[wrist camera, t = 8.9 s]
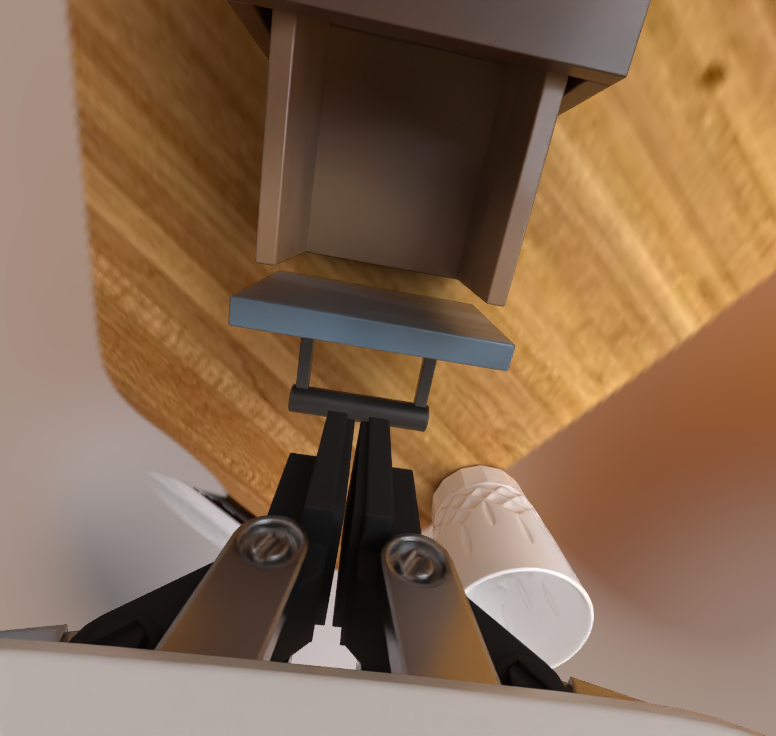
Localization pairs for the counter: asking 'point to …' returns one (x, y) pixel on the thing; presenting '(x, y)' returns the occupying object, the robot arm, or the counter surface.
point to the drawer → (392, 198)
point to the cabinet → (490, 31)
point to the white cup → (511, 562)
